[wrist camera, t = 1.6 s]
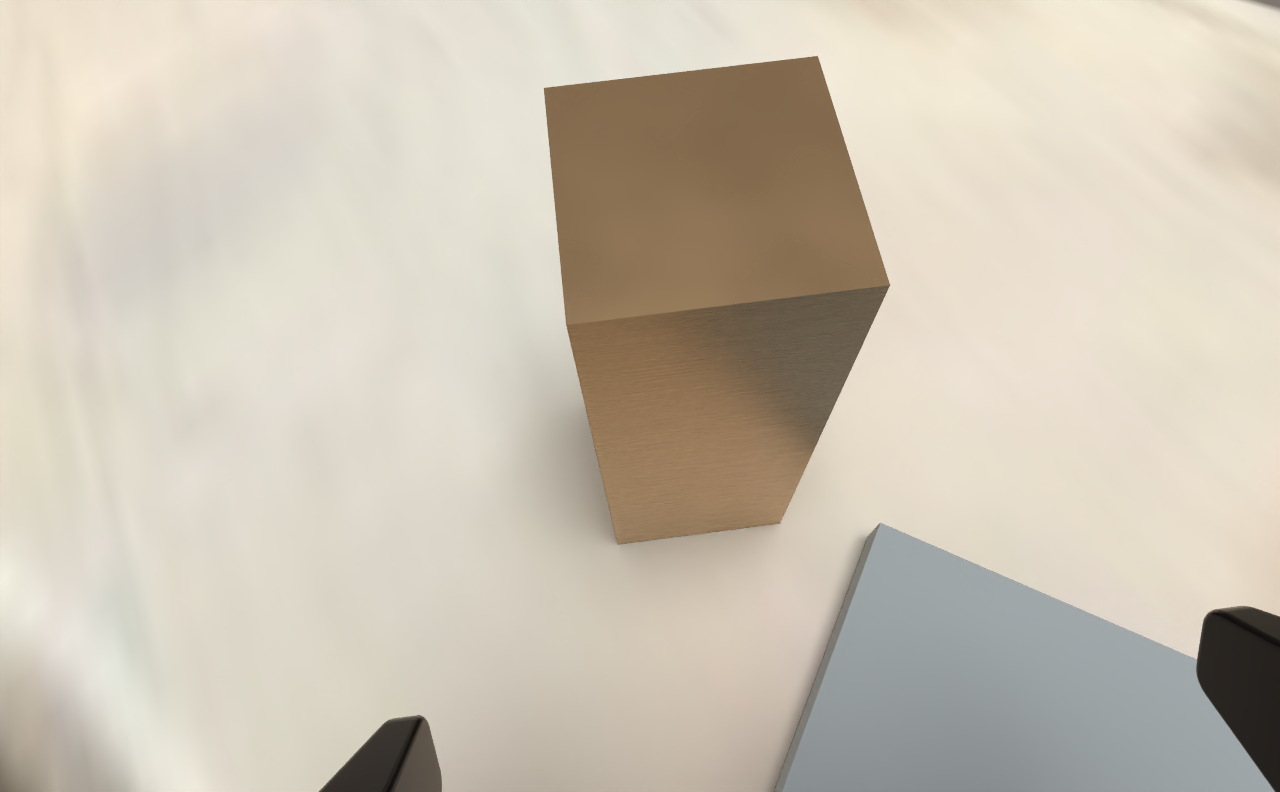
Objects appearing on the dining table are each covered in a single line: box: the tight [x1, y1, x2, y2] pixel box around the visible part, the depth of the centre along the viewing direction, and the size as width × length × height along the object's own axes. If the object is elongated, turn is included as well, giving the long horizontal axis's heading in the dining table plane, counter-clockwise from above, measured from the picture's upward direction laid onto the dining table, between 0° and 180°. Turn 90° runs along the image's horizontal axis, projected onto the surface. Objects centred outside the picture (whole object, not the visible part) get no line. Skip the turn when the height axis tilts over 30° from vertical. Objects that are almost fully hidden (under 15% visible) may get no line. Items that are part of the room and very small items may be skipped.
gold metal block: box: [544, 56, 890, 544], centre depth 19 cm, size 5×5×13 cm
